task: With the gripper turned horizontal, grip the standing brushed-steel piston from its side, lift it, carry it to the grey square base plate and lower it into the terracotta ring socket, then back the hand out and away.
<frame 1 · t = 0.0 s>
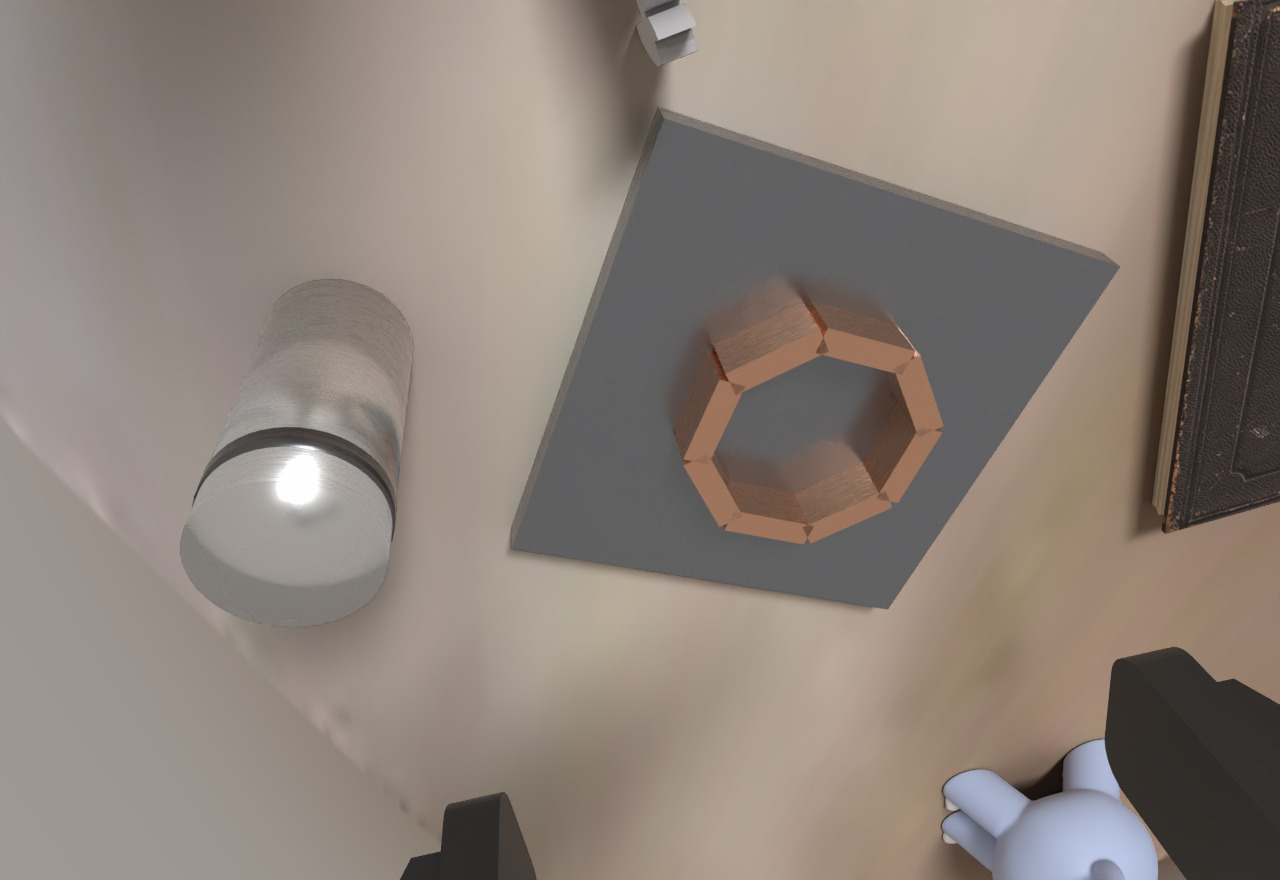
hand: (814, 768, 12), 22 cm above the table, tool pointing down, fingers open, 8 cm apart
grey square base plate: (791, 398, 36), on the table
hippopotamus toy: (1022, 798, 57), on the table
steel piston: (340, 344, 32), on the table
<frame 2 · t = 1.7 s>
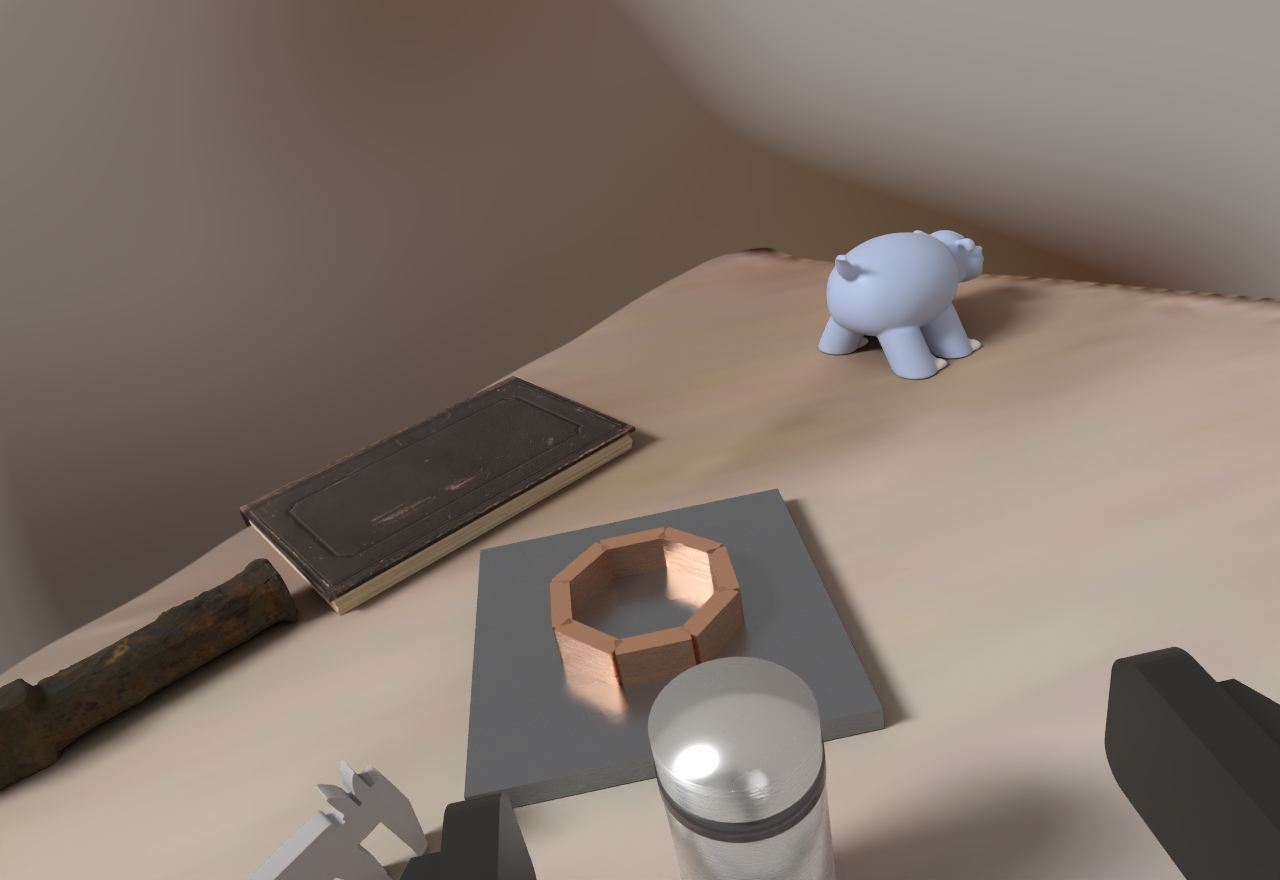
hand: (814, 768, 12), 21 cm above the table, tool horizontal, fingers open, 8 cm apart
grey square base plate: (652, 634, 47), on the table
hippopotamus toy: (908, 343, 72), on the table
hardcover book: (445, 495, 64), on the table
hand tool: (139, 712, 49), on the table
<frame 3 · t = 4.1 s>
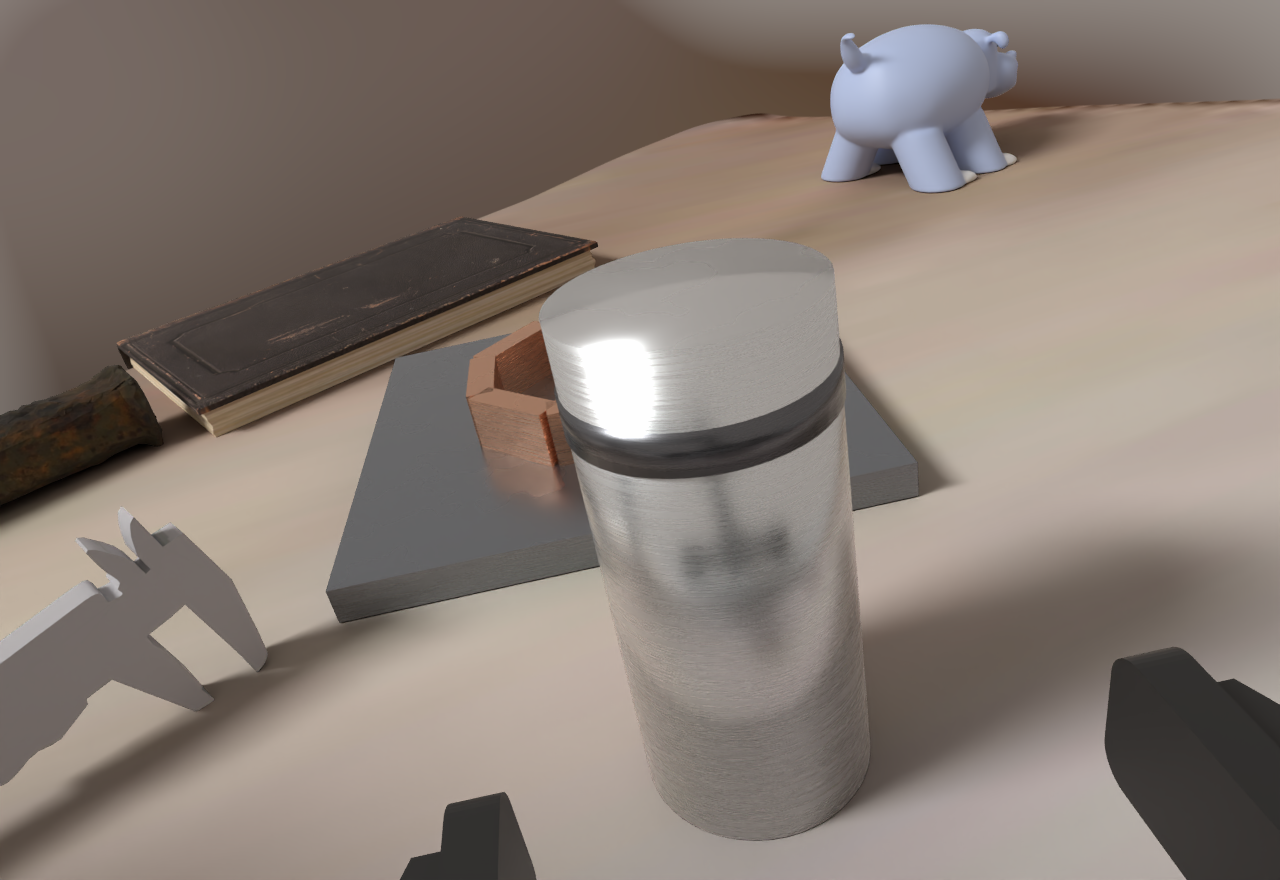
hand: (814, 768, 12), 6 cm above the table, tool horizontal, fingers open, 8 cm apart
grey square base plate: (605, 425, 36), on the table
hippopotamus toy: (928, 168, 60), on the table
steel piston: (756, 743, 21), on the table
hardcover book: (369, 330, 53), on the table
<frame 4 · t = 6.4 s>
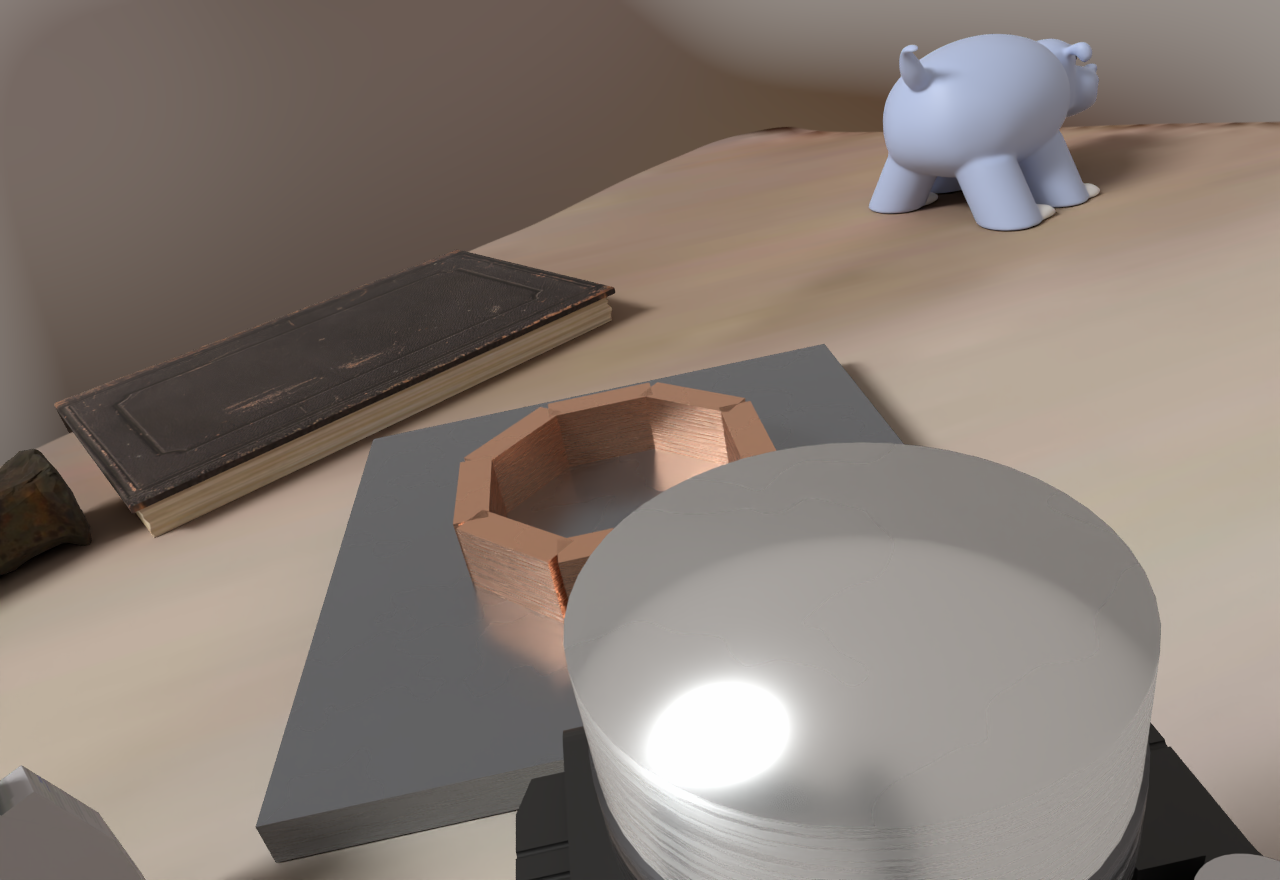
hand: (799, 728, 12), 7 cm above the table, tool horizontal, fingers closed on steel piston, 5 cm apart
grey square base plate: (630, 546, 28), on the table
hippopotamus toy: (993, 199, 52), on the table
hardcover book: (349, 388, 46), on the table
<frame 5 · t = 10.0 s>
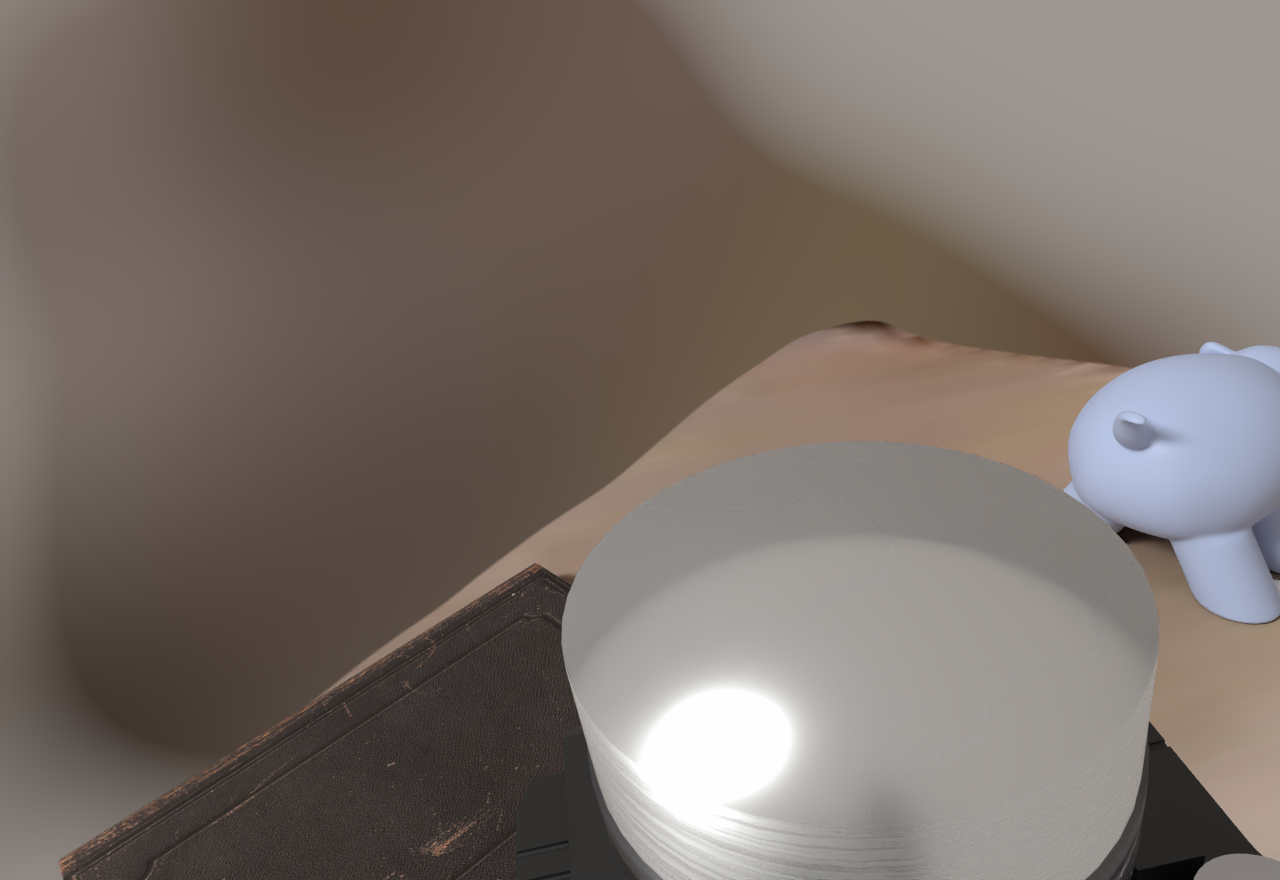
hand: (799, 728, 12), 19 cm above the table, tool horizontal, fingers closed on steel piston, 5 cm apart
hippopotamus toy: (1194, 530, 43), on the table
hardcover book: (425, 821, 37), on the table
when the fingers open (9 cm above the table, at t = 13.3 s): steel piston drops 1 cm, resting on grey square base plate.
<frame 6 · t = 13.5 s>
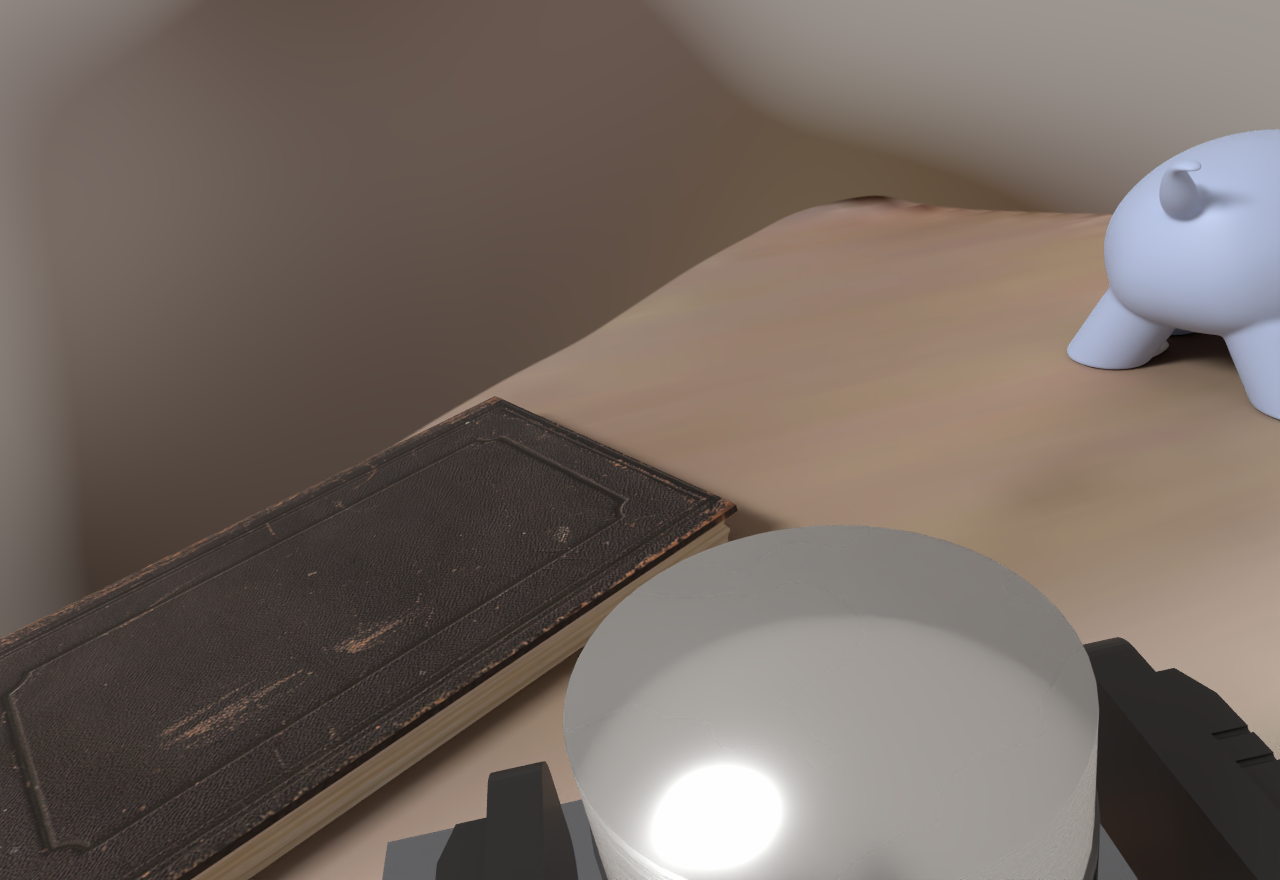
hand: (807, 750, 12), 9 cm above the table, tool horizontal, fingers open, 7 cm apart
hippopotamus toy: (1250, 351, 37), on the table
hardcover book: (352, 641, 32), on the table
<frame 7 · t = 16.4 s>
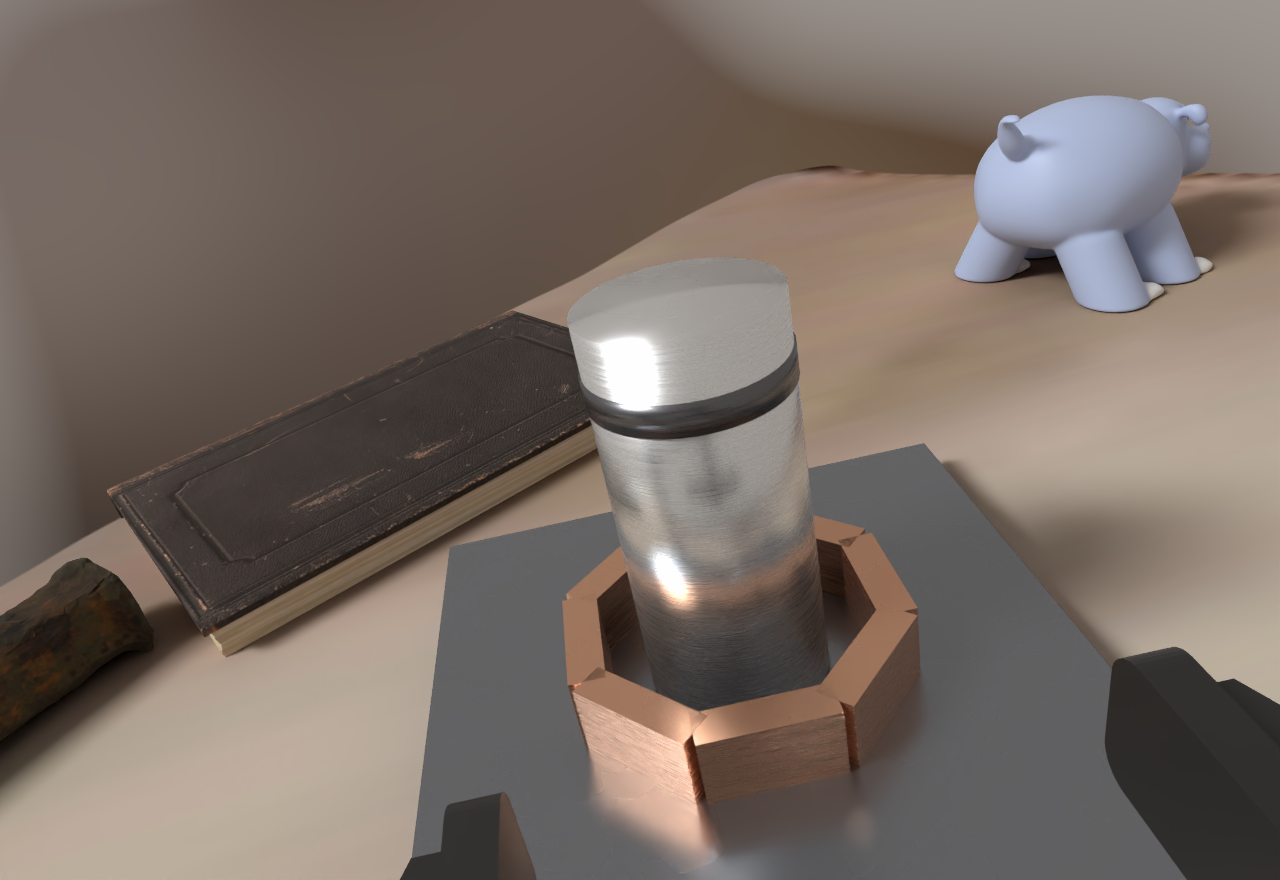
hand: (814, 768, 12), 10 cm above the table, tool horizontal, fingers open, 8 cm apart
grey square base plate: (744, 689, 26), on the table
hippopotamus toy: (1091, 268, 49), on the table
steel piston: (739, 660, 26), point 1 cm above the table, touching grey square base plate
hardcover book: (411, 470, 44), on the table
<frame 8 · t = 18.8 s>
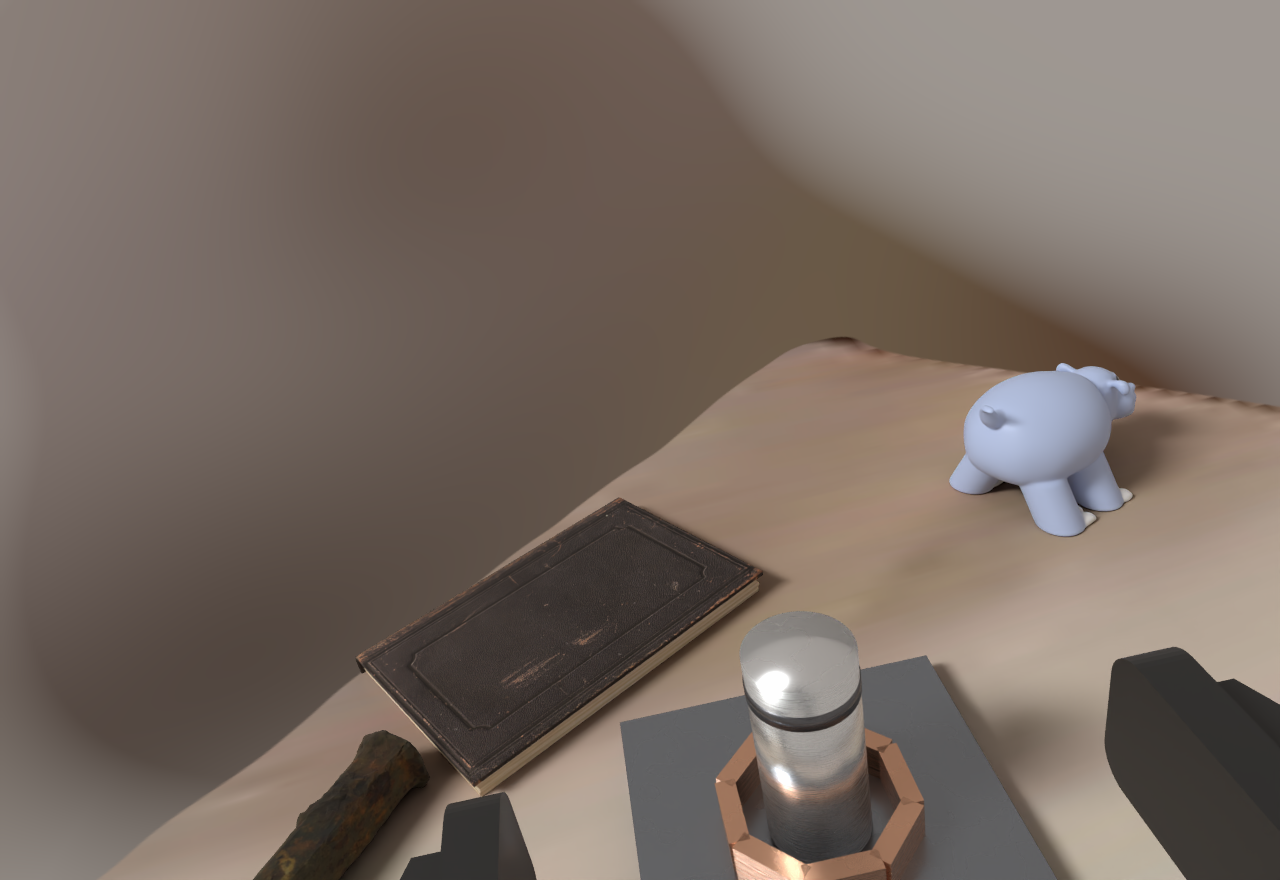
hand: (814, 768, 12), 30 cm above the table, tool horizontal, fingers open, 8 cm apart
grey square base plate: (821, 835, 45), on the table
hippopotamus toy: (1048, 484, 67), on the table
steel piston: (819, 820, 44), point 1 cm above the table, touching grey square base plate
hardcover book: (565, 639, 62), on the table
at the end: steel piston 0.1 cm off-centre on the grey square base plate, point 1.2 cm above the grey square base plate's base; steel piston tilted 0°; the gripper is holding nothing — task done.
